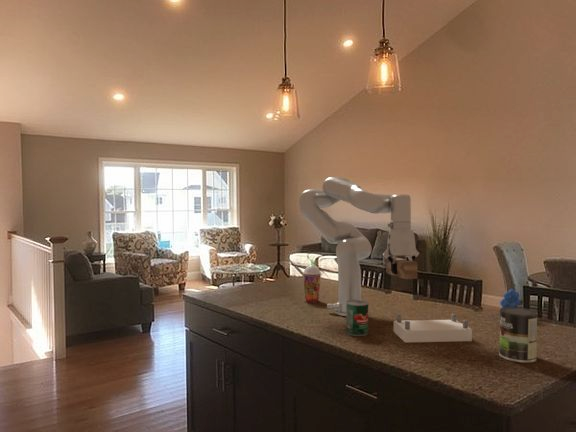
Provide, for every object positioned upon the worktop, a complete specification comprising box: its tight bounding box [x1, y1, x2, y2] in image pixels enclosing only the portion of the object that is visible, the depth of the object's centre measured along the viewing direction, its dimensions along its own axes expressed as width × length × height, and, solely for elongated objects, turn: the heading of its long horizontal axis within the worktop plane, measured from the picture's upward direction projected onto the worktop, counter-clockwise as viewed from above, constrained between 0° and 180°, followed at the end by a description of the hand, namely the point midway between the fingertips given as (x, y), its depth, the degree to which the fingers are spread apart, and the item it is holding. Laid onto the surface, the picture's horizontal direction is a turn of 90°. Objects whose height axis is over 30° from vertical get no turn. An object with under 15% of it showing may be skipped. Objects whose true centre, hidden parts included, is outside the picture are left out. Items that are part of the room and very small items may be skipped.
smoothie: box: [302, 258, 322, 303], centre depth 219 cm, size 8×8×20 cm
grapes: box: [499, 288, 521, 311], centre depth 186 cm, size 12×7×12 cm, turn 121°
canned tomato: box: [345, 299, 369, 337], centre depth 165 cm, size 8×8×11 cm
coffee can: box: [498, 306, 539, 364], centre depth 139 cm, size 10×10×14 cm
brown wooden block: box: [385, 257, 418, 280], centre depth 178 cm, size 16×5×6 cm, turn 13°
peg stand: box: [393, 313, 473, 343], centre depth 161 cm, size 23×13×6 cm, turn 94°
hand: (401, 272), depth 178 cm, fingers closed on brown wooden block, 5 cm apart
